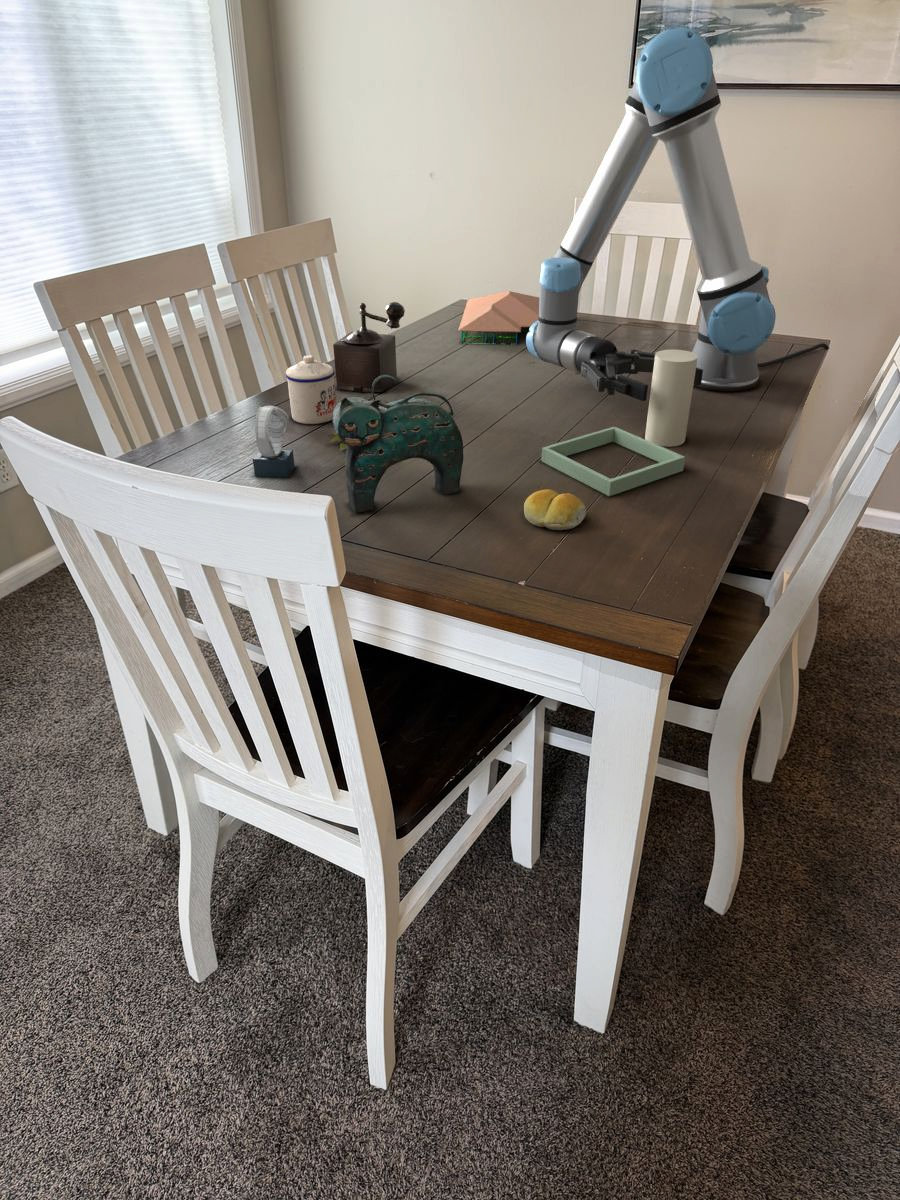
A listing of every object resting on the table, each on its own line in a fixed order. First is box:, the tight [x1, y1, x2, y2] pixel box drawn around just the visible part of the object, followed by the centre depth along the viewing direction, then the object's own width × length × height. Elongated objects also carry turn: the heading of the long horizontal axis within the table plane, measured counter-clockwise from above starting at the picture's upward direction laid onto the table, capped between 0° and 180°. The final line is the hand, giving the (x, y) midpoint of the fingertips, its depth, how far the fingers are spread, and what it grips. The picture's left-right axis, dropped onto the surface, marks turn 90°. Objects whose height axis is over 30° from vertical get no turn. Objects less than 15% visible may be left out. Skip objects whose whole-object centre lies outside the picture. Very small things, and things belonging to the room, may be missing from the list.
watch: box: [252, 405, 296, 479], centre depth 135 cm, size 6×8×11 cm
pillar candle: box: [644, 349, 698, 448], centre depth 144 cm, size 7×7×15 cm
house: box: [457, 290, 540, 345], centre depth 209 cm, size 23×33×8 cm
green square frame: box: [541, 426, 686, 497], centre depth 138 cm, size 17×17×2 cm
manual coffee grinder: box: [332, 301, 406, 393], centre depth 170 cm, size 16×11×18 cm
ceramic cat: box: [332, 375, 465, 514], centre depth 124 cm, size 20×6×20 cm, turn 114°
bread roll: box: [523, 489, 587, 531], centre depth 122 cm, size 8×9×4 cm
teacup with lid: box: [285, 354, 337, 425], centre depth 157 cm, size 12×9×12 cm
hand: (673, 385), depth 143 cm, fingers open, 13 cm apart
